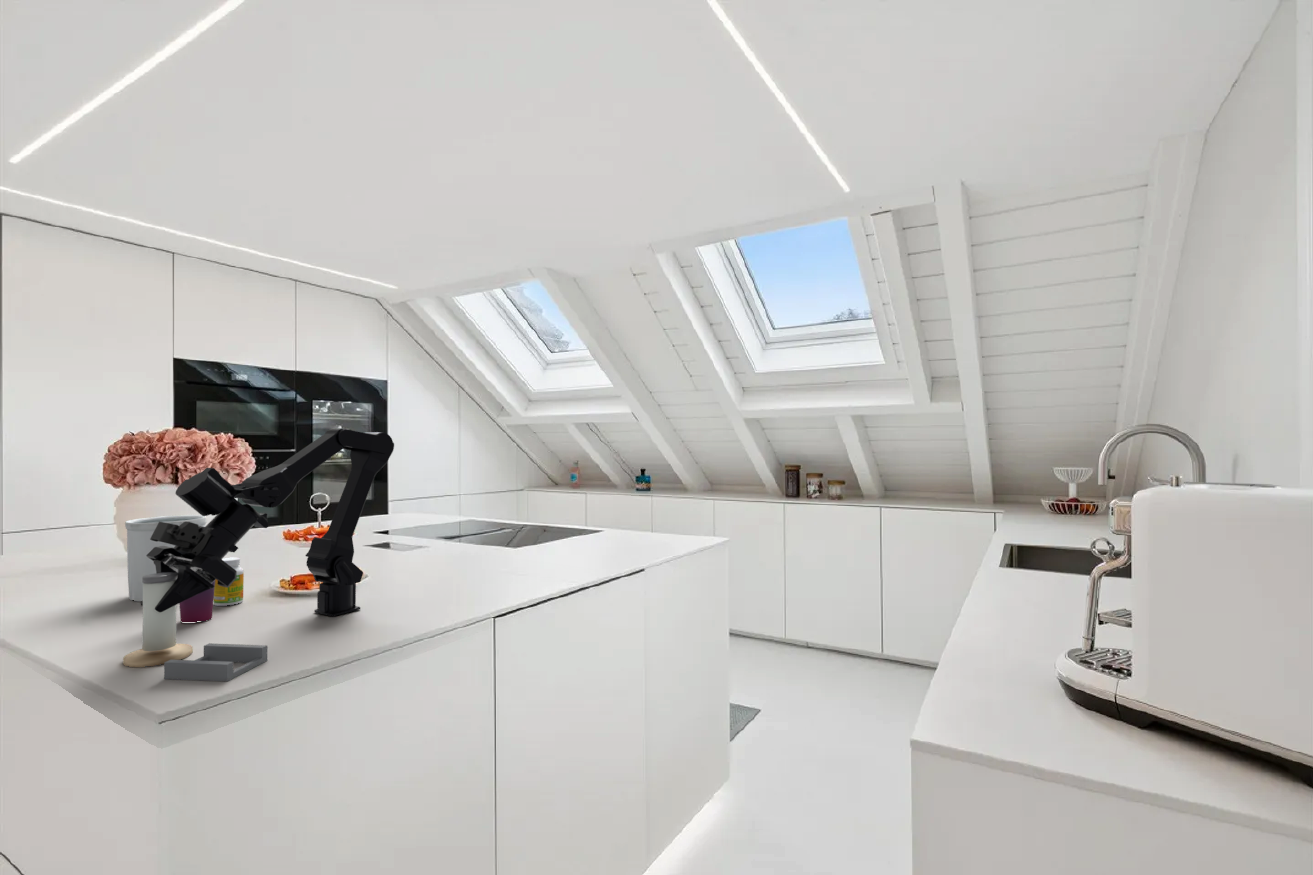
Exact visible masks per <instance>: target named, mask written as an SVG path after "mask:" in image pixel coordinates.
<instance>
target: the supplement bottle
mask: <svg viewBox="0 0 1313 875" xmlns="http://www.w3.org/2000/svg"><path fill="white" fill-rule="evenodd" d="M222 560H223V561H224V562H226V563H227V564H228V565H229V566H231V567H232V568H233V569H235V570H236V571H237V573H236V580H235V581H234V582H233V583H232V584H231V585H230V586H229V587H228V588H227V587H223V586H219V585H218V584H217V583H218V580H215V588H214V599H213V606H216V607H228V606H227V605H230V606H235V605H234V604H236V605H238V603H239V604H241V603H243V602H244V583H245V582H244V577H245V576H244V575H245V574H244V572H245V571H244V569H243V567H241V558H240V557H233V556H231V557H223V559H222Z"/></svg>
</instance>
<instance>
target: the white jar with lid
mask: <svg viewBox="0 0 1313 875" xmlns="http://www.w3.org/2000/svg"><path fill="white" fill-rule="evenodd" d="M177 578H178V573H173V572H167V573H156V574H150V575H146V576H143V577H142V583H143V607H142V632H141V633H142V635H141V636H142V637H141V639H142V640H141V641H142V643H141V644H142V646H141V647H142V648H141V649H142V650H143V651H158V650H164V649H168V648H171V647H173V646H175V645H176V644H177V605H178V604H177V605H175V606H173V607H171V608H169V609H167V610H165V611H163V612H158V611H156V610H155V607H156V606H157V604H158V603H159V601H160V600H161V599H162V597H163V596H164V595H165V594H166V592H167V591H168V590H169V589H170V587H171V586H172V585H173V583H174V582H175V581H176V580H177Z"/></svg>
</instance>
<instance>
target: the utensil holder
mask: <svg viewBox="0 0 1313 875" xmlns="http://www.w3.org/2000/svg"><path fill="white" fill-rule="evenodd" d="M207 521H208V518H207V516H202V515H201V514H182V515H181V514H178V515H176V514H175V515H163V516H152V517H143V518H134V519H129V520H126V521H125V523H124V525H125V526H124V527H125V529H126V551H127V552H126V553H127V556H126V557H127V558H126V559H127V561H126V562H127V584H128V585H127V586H128V598H129V600H130V601H132V600H134V601H133V602H141V601H142V600H143V583H142V577H143V576H146V575H150V574H156V566H155V564H154V561H152V560H151V559H149V558H148V557H147V556H146V555H147V554H148V553H149V552H150V551H151V550H152V549H153V548H154V547H159V546H167V547H172V548H174V547H175V545H172V544H168V543H164V542H159V541H158V542H156V541H152V540H150V538H151V536H152V534H153V532H154V530H155V529H156V527H157V525H158V523H159V522H164V523H170V524H175V525H178V526H180V525H181V524H182V523H183V522H191V523H195V524H198V525H199V526H202V527H205V526H206V525H207V524H206V523H207Z"/></svg>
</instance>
